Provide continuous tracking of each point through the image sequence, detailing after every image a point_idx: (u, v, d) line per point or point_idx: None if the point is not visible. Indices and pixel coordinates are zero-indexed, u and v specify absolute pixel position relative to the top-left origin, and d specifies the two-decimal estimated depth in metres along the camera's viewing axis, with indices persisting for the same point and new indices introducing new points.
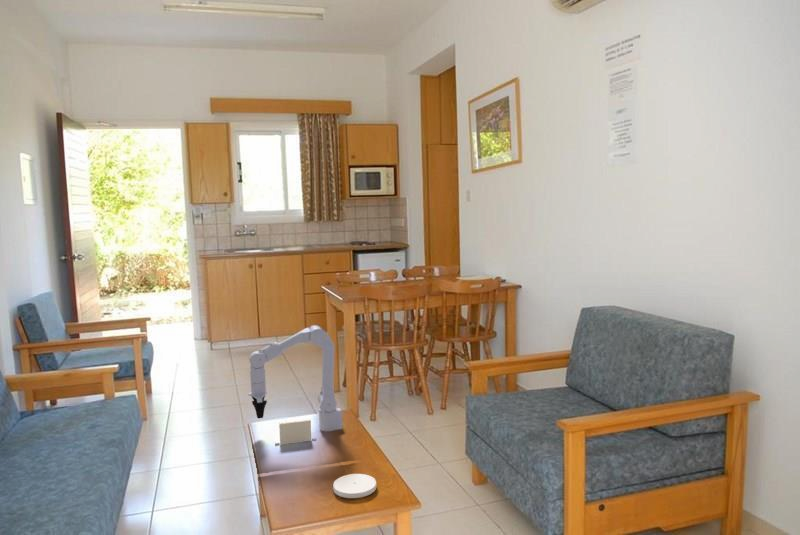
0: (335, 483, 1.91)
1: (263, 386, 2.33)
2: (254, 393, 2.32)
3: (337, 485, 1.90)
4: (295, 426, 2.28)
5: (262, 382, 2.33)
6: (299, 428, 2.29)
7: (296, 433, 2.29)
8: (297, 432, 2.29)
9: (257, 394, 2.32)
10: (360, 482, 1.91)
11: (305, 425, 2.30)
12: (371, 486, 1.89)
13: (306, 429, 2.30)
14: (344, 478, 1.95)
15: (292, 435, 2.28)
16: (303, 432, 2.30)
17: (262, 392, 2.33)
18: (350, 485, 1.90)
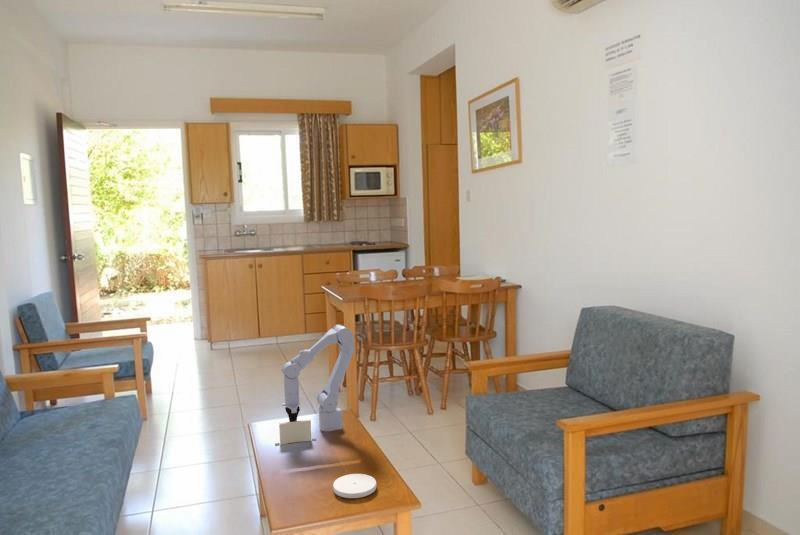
0: (335, 483, 1.91)
1: (297, 396, 2.35)
2: (288, 403, 2.34)
3: (337, 485, 1.90)
4: (295, 426, 2.28)
5: (296, 392, 2.35)
6: (299, 428, 2.29)
7: (296, 433, 2.29)
8: (297, 432, 2.29)
9: (291, 404, 2.34)
10: (360, 482, 1.91)
11: (305, 425, 2.30)
12: (371, 486, 1.89)
13: (306, 429, 2.30)
14: (344, 478, 1.95)
15: (292, 435, 2.28)
16: (303, 432, 2.30)
17: (296, 402, 2.35)
18: (350, 485, 1.90)
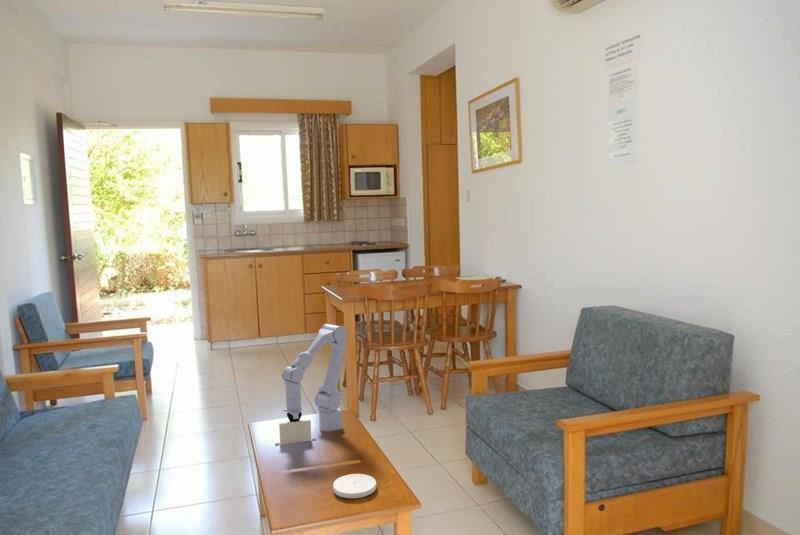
0: (335, 483, 1.91)
1: (299, 402, 2.29)
2: (290, 409, 2.28)
3: (337, 485, 1.90)
4: (295, 426, 2.28)
5: (298, 398, 2.28)
6: (299, 428, 2.29)
7: (296, 433, 2.29)
8: (297, 432, 2.29)
9: (293, 410, 2.27)
10: (360, 482, 1.91)
11: (305, 425, 2.29)
12: (371, 486, 1.89)
13: (306, 429, 2.30)
14: (344, 478, 1.95)
15: (292, 435, 2.28)
16: (303, 432, 2.30)
17: (298, 408, 2.28)
18: (350, 485, 1.90)
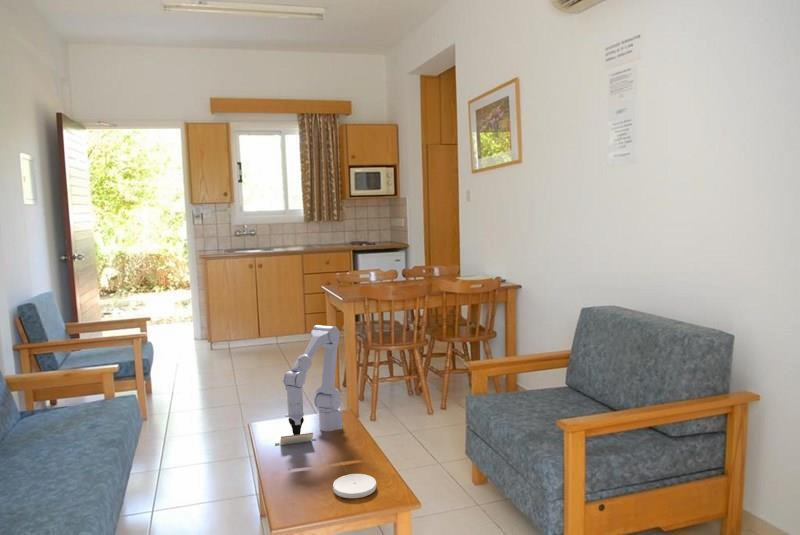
0: (335, 483, 1.91)
1: (301, 407, 2.23)
2: (291, 414, 2.22)
3: (337, 485, 1.90)
4: (297, 438, 2.24)
5: (300, 403, 2.22)
6: (301, 438, 2.25)
7: (297, 440, 2.26)
8: (298, 440, 2.26)
9: (294, 415, 2.22)
10: (360, 482, 1.91)
11: (307, 437, 2.25)
12: (371, 486, 1.89)
13: (307, 438, 2.26)
14: (344, 478, 1.95)
15: (293, 441, 2.26)
16: (304, 439, 2.27)
17: (300, 413, 2.22)
18: (350, 485, 1.90)
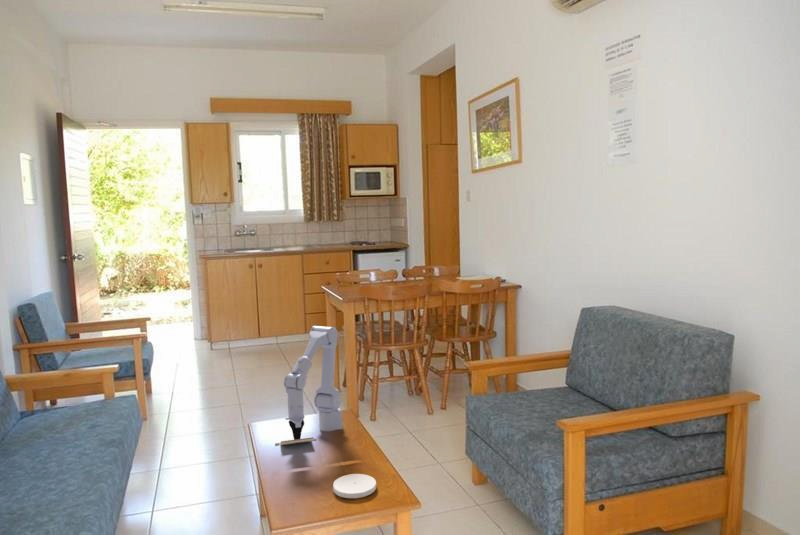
0: (335, 483, 1.91)
1: (301, 410, 2.21)
2: (292, 417, 2.20)
3: (337, 485, 1.90)
4: (297, 442, 2.23)
5: (300, 405, 2.21)
6: None
7: (297, 442, 2.26)
8: (298, 442, 2.26)
9: (295, 418, 2.20)
10: (360, 483, 1.91)
11: (307, 441, 2.25)
12: (371, 486, 1.89)
13: (308, 441, 2.26)
14: (344, 478, 1.95)
15: (293, 443, 2.26)
16: None
17: (300, 416, 2.21)
18: (350, 485, 1.90)
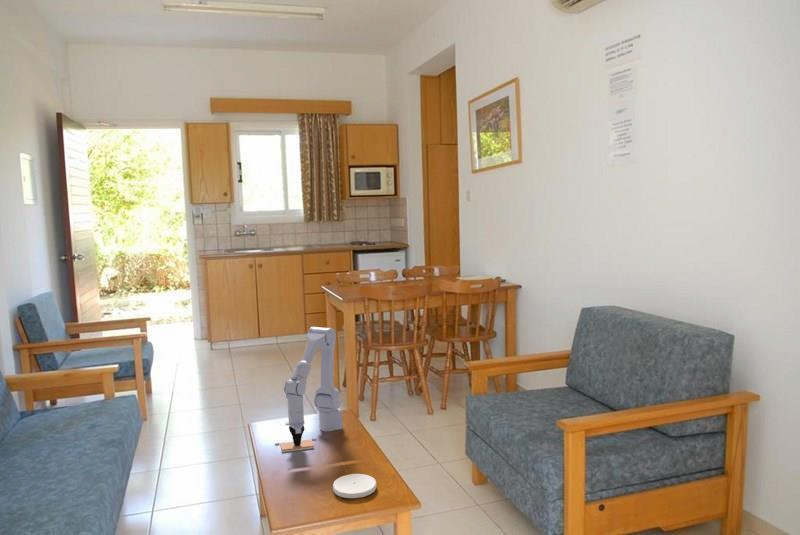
0: (335, 483, 1.91)
1: (301, 415, 2.22)
2: (292, 423, 2.21)
3: (337, 485, 1.90)
4: None
5: (300, 411, 2.21)
6: None
7: None
8: None
9: (295, 424, 2.20)
10: (360, 483, 1.91)
11: None
12: (371, 486, 1.89)
13: None
14: (344, 478, 1.95)
15: None
16: None
17: (300, 422, 2.21)
18: (350, 485, 1.90)
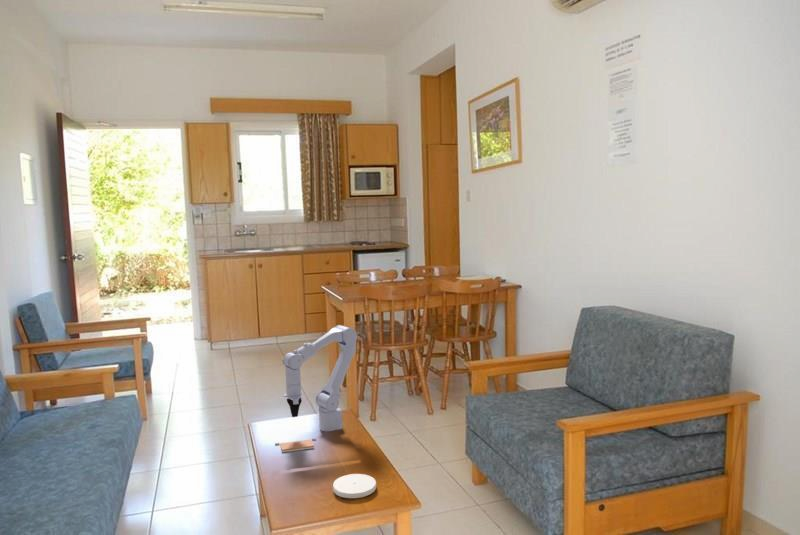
0: (335, 483, 1.91)
1: (298, 388, 2.32)
2: (290, 395, 2.31)
3: (337, 485, 1.90)
4: None
5: (298, 384, 2.31)
6: None
7: None
8: None
9: (293, 396, 2.31)
10: (360, 483, 1.91)
11: None
12: (371, 486, 1.89)
13: None
14: (344, 478, 1.95)
15: None
16: None
17: (297, 394, 2.32)
18: (350, 485, 1.90)
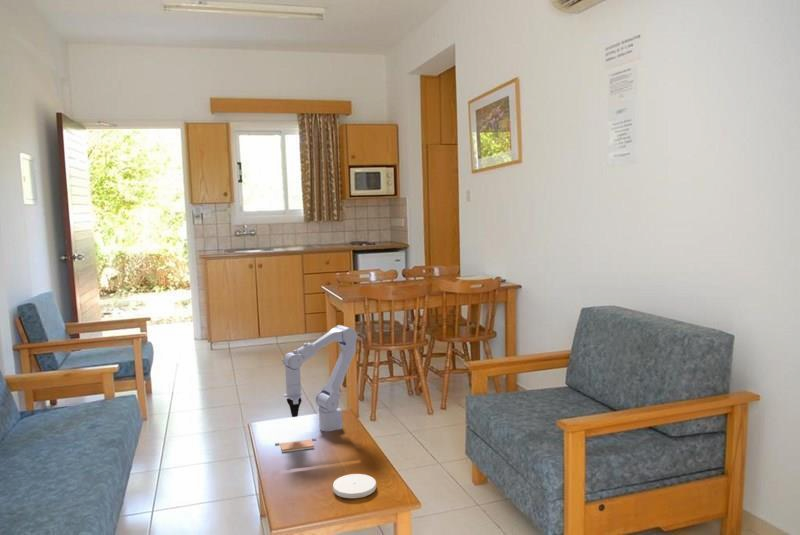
0: (335, 483, 1.91)
1: (298, 387, 2.32)
2: (289, 394, 2.31)
3: (337, 485, 1.90)
4: None
5: (297, 383, 2.32)
6: None
7: None
8: None
9: (293, 395, 2.31)
10: (359, 483, 1.91)
11: None
12: (371, 486, 1.89)
13: None
14: (344, 478, 1.95)
15: None
16: None
17: (297, 393, 2.32)
18: (350, 485, 1.90)
